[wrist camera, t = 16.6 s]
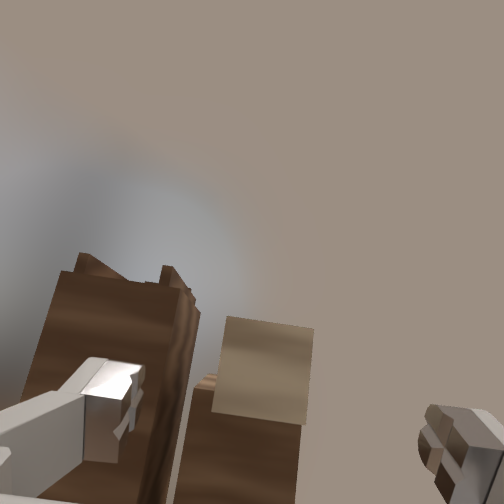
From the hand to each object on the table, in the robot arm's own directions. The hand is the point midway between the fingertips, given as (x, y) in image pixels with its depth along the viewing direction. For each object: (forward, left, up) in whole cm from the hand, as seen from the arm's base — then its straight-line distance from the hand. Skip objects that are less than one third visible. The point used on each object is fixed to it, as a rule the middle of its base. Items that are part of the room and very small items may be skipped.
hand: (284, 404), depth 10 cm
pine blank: (+8, +14, -1) cm, 16 cm away
